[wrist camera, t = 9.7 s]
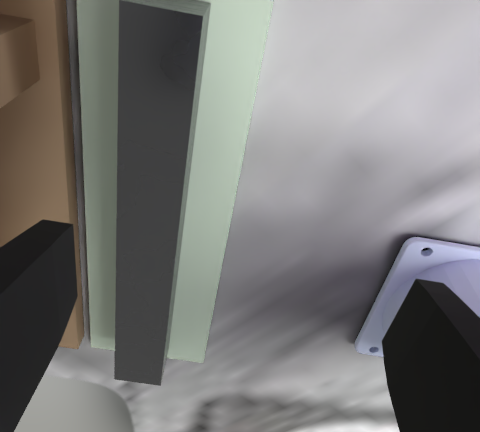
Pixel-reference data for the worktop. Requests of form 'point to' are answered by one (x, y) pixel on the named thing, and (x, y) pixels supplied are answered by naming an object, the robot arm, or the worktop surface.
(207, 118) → the mat
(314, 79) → the worktop surface
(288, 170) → the worktop surface
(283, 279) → the worktop surface
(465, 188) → the worktop surface
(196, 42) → the rail
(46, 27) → the hook stands
